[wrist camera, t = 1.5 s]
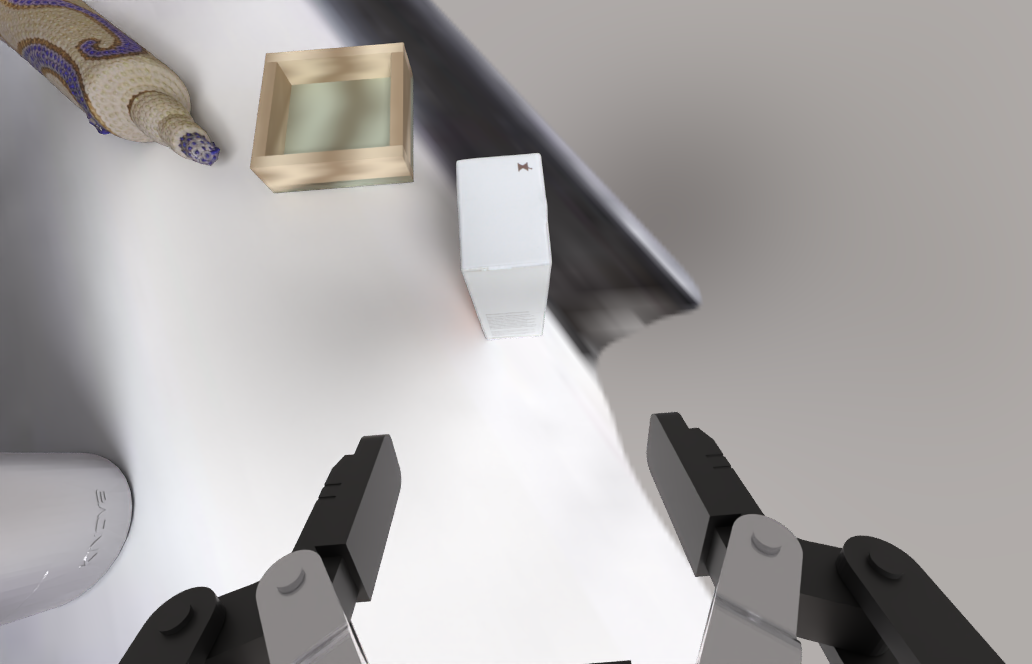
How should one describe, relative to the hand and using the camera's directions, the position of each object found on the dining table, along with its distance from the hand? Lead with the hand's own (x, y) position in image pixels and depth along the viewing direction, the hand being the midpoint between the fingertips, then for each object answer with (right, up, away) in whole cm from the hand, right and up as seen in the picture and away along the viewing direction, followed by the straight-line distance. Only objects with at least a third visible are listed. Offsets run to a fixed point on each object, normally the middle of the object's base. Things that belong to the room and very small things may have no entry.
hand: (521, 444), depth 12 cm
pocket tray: (-15, +21, +22) cm, 34 cm away
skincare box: (-1, +6, +17) cm, 18 cm away
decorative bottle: (-35, +23, +24) cm, 48 cm away
